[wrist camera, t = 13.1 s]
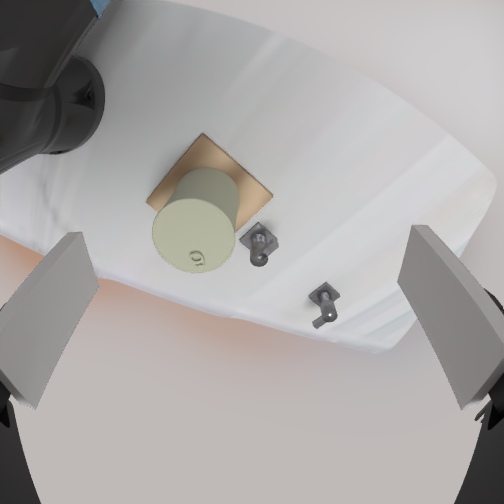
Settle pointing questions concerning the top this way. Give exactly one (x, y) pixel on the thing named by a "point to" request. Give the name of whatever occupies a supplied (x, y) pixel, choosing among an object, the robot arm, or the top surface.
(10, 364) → the robot arm
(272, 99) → the top surface
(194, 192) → the can
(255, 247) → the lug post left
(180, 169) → the tan flat square board
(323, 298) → the lug post right
